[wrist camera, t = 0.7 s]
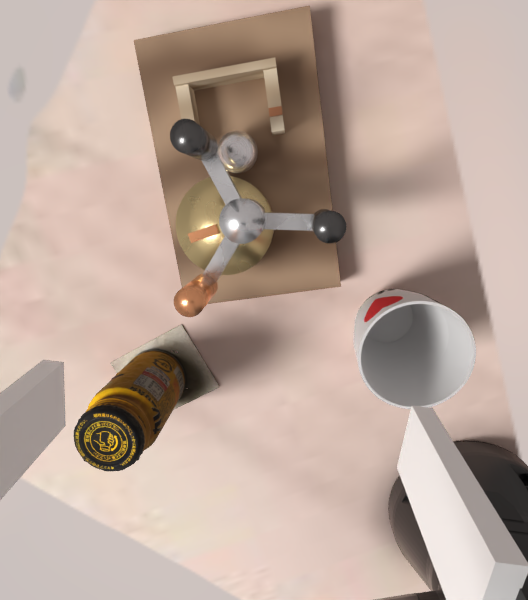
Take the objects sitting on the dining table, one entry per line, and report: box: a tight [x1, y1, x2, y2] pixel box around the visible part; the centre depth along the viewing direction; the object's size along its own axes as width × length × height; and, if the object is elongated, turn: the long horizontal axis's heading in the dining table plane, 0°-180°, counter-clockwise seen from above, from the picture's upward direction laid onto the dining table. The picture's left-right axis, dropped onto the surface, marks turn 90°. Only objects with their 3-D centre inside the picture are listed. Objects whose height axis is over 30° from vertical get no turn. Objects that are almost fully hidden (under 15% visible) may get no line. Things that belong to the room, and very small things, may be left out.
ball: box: [217, 130, 258, 173], centre depth 34 cm, size 3×3×3 cm
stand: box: [134, 6, 341, 304], centre depth 35 cm, size 22×14×4 cm, turn 9°
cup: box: [354, 289, 476, 409], centre depth 35 cm, size 8×8×10 cm
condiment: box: [74, 325, 219, 471], centre depth 37 cm, size 7×8×12 cm
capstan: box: [170, 119, 346, 317], centre depth 31 cm, size 13×12×10 cm
